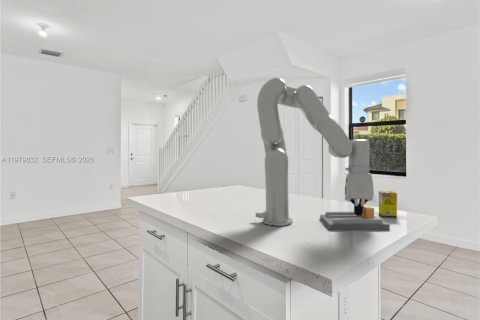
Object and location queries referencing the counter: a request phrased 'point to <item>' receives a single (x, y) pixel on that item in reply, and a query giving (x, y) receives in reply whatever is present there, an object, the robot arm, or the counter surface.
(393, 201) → the supplement box
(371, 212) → the block
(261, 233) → the counter surface
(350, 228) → the breaker panel
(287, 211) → the robot arm
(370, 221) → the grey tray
